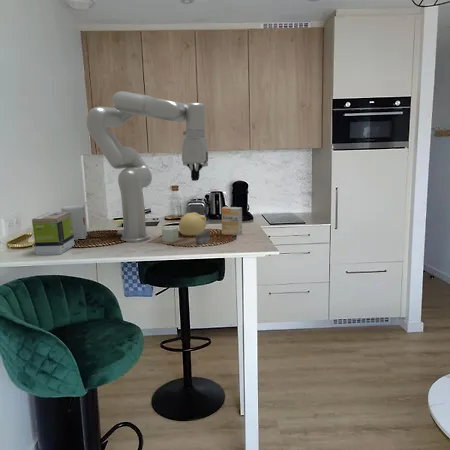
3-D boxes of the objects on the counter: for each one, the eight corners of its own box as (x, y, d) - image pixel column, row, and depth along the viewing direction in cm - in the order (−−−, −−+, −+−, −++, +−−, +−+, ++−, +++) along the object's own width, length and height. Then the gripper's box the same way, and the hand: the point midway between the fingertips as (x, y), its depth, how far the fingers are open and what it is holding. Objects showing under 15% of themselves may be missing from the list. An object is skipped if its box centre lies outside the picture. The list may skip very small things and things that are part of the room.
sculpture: (210, 234, 197) (209, 211, 195) (196, 239, 186) (195, 215, 184) (189, 232, 202) (188, 210, 200) (174, 237, 192) (173, 213, 190)
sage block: (162, 241, 179) (161, 229, 178) (167, 238, 183) (167, 227, 182) (173, 241, 177) (172, 230, 176) (178, 239, 182) (177, 227, 181)
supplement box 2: (221, 236, 190) (220, 207, 188) (225, 234, 195) (224, 206, 192) (239, 237, 187) (238, 208, 185) (242, 235, 192) (242, 206, 189)
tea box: (52, 246, 180) (48, 211, 177) (75, 246, 180) (72, 211, 177) (35, 255, 165) (31, 218, 163) (60, 255, 165) (57, 217, 162)
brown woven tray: (146, 244, 178) (146, 233, 177) (160, 238, 189) (159, 227, 188) (199, 248, 170) (199, 235, 169) (211, 241, 181) (210, 229, 180)
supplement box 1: (84, 240, 191) (81, 207, 188) (63, 241, 189) (60, 208, 186) (87, 236, 199) (85, 204, 197) (67, 237, 198) (64, 205, 195)
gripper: (174, 134, 171) (174, 180, 174) (209, 135, 166) (208, 182, 169) (182, 134, 178) (182, 178, 181) (216, 135, 172) (215, 180, 176)
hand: (195, 180), depth 175 cm, fingers closed
